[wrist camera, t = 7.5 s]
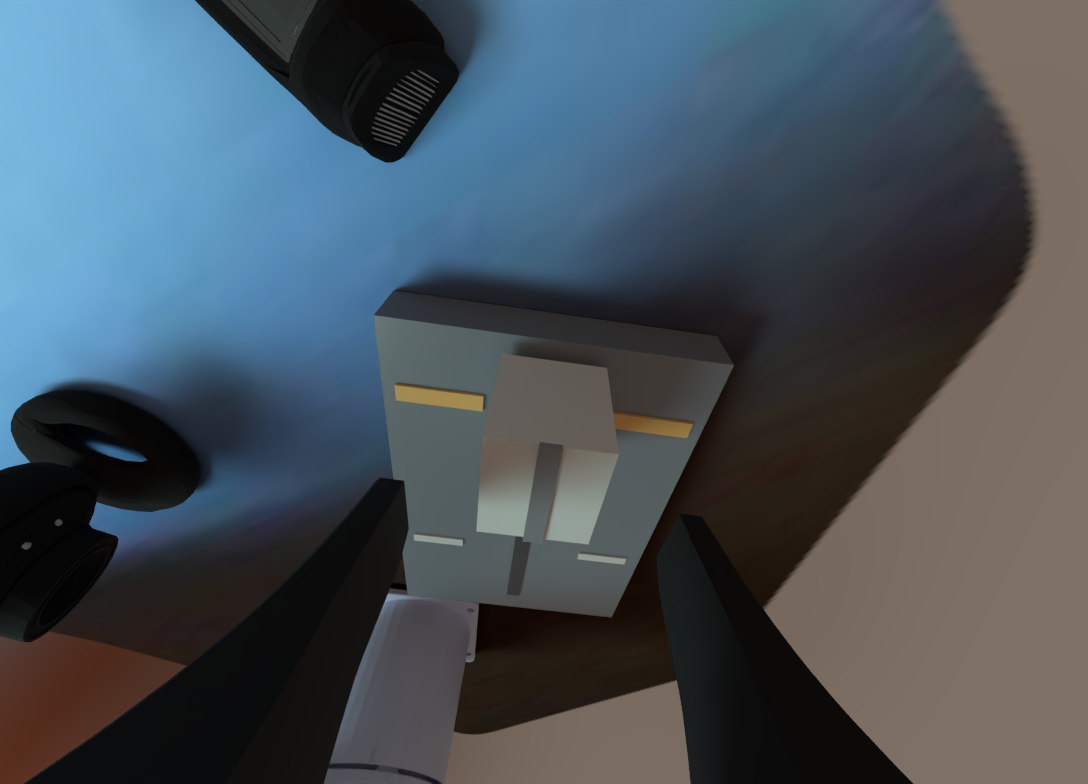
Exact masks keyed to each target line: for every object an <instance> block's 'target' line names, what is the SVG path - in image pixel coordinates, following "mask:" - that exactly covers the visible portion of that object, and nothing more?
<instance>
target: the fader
mask: <svg viewBox="0 0 1088 784" xmlns="http://www.w3.org/2000/svg"><path fill="white" fill-rule="evenodd" d="M618 456H619V451H618V443H617V436H616V429H615V422H614V415H613V407H612V400H611V393H610V386H609V379H608V371H607V368H604V367H597V366H590V365H582V364H575V363H568V362H560V361H553V360H546V359H538V358H531V357H524V356H517V355H509V354H502V355H501V359H500V363H499V368H498V372H497V376H496V380H495V385H494V389H493V393H492V397H491V402H490V406H489V410H488V415H487V419H486V423H485V427H484V432H483V436H482V448H481V465H480V481H479V497H478V514H477V530H476V531H477V532H486V533H495V534H503V535H512V536H520V537H523V542H531V543H540V544H542V541H543V539H546V540H554V541H563V542H571V543H580V544H589V541H590V538H591V535H592V532H593V529H594V527H595V524H596V521H597V518H598V515H599V512H600V509H601V506H602V503H603V500H604V497H605V494H606V491H607V488H608V485H609V482H610V480H611V477H612V474H613V471H614V468H615V465H616V462H617V459H618Z"/></svg>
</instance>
